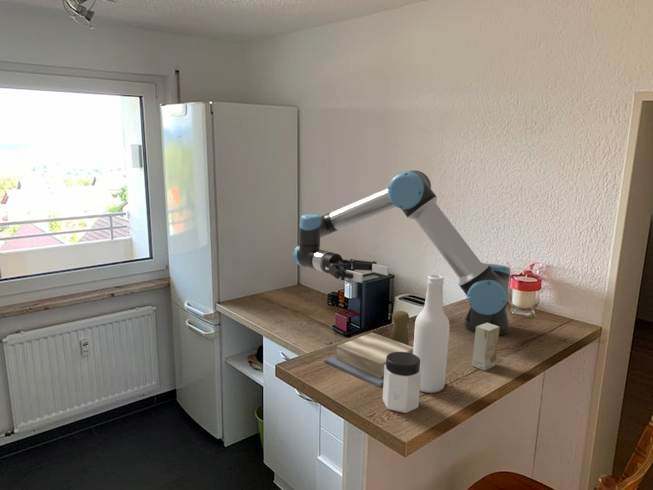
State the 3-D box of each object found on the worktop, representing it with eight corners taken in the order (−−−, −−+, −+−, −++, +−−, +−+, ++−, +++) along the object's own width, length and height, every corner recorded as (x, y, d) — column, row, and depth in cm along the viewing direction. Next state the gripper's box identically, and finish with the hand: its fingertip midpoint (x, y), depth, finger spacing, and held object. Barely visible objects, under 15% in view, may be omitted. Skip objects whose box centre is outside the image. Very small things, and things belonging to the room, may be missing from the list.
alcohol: (409, 376, 136) (417, 271, 130) (442, 379, 135) (451, 273, 129) (411, 392, 127) (419, 280, 121) (446, 395, 126) (456, 282, 120)
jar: (378, 407, 119) (380, 361, 117) (386, 392, 127) (389, 348, 124) (414, 416, 116) (418, 368, 114) (421, 400, 124) (424, 355, 121)
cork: (392, 339, 162) (394, 307, 159) (410, 343, 159) (413, 310, 157) (386, 346, 156) (388, 313, 154) (405, 350, 154) (407, 316, 151)
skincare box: (484, 371, 141) (488, 331, 138) (471, 366, 144) (475, 326, 141) (496, 365, 145) (500, 326, 142) (483, 360, 148) (487, 321, 146)
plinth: (371, 342, 159) (372, 328, 158) (425, 362, 145) (426, 347, 144) (324, 362, 143) (324, 346, 142) (378, 386, 130) (379, 369, 129)
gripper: (350, 267, 185) (397, 279, 170) (302, 278, 167) (349, 293, 153) (351, 247, 183) (398, 258, 169) (303, 256, 165) (350, 269, 151)
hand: (375, 274), depth 161 cm, fingers open, 13 cm apart
